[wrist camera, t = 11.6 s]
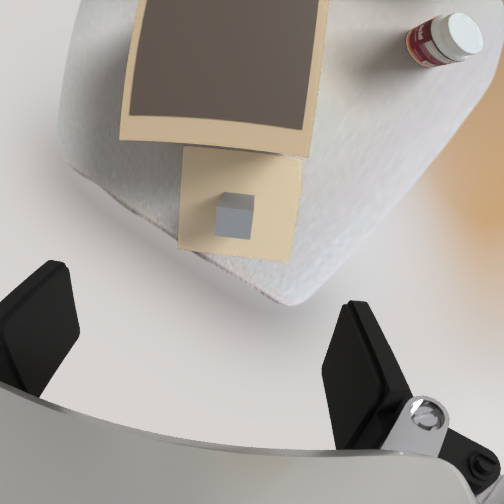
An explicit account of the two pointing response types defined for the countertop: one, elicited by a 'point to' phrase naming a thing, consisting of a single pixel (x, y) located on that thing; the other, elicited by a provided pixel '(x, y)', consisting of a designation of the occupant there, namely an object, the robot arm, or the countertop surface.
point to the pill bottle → (444, 40)
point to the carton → (225, 73)
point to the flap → (238, 203)
